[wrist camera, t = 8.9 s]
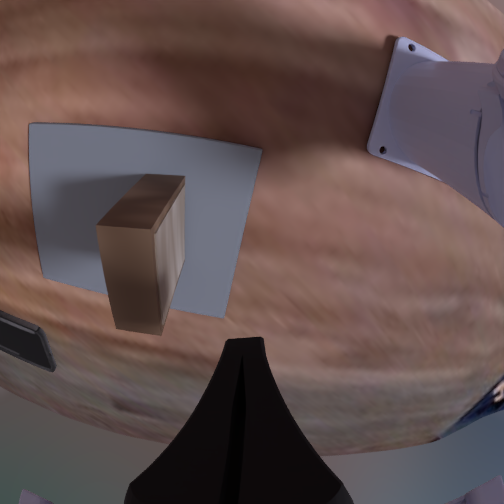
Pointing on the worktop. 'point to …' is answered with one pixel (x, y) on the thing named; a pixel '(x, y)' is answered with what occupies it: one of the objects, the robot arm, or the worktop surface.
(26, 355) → the phone
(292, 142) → the worktop surface
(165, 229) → the brown wooden block
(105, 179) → the rubber mat
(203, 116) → the worktop surface
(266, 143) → the worktop surface
